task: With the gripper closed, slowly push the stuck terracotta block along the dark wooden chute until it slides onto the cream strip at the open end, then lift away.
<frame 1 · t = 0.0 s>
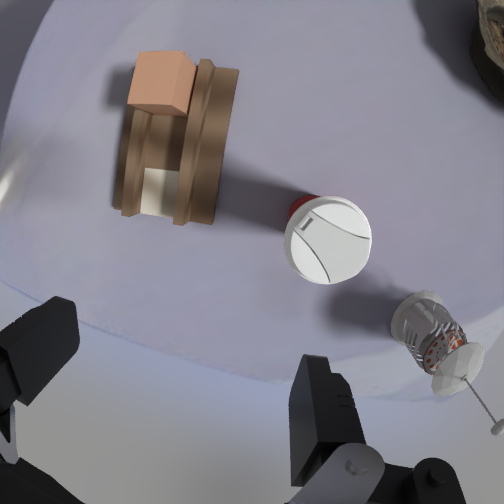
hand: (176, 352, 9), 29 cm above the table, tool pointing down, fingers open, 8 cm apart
paper cup: (310, 217, 37), on the table
jammed block: (167, 85, 29), point 5 cm above the table, slide at 0.0 cm
french press: (416, 314, 40), on the table
chute: (172, 139, 35), on the table
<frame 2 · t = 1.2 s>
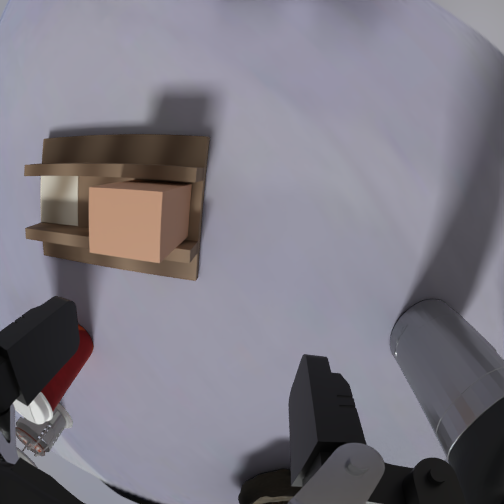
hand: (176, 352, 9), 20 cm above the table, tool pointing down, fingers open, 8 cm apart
paper cup: (77, 338, 34), on the table
jammed block: (143, 214, 23), point 5 cm above the table, slide at 0.0 cm
french press: (54, 409, 40), on the table
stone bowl: (291, 487, 42), on the table
chute: (111, 201, 28), on the table
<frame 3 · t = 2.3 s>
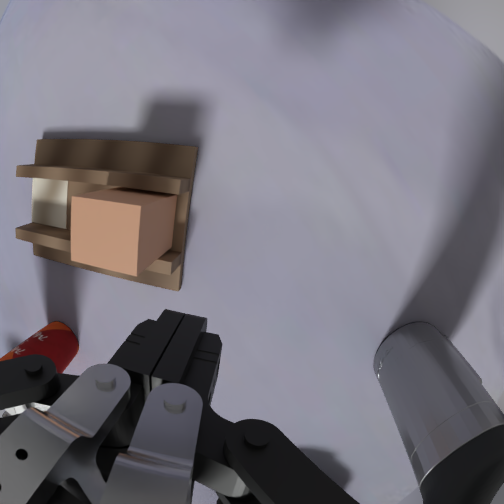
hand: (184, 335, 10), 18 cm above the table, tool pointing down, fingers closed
paper cup: (64, 338, 34), on the table
jammed block: (126, 224, 23), point 5 cm above the table, slide at 0.0 cm
chute: (99, 206, 28), on the table
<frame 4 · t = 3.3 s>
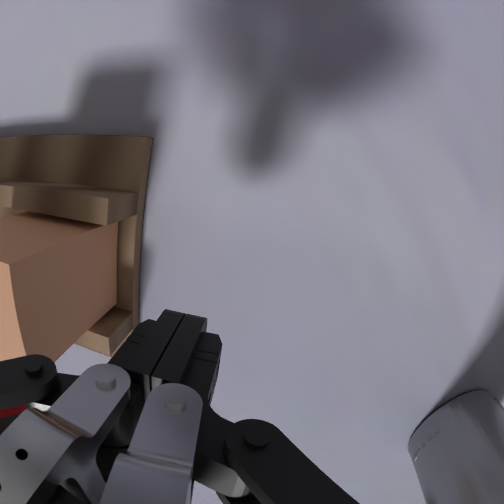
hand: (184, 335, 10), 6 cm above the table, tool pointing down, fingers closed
paper cup: (17, 388, 22), on the table
jammed block: (33, 275, 12), point 5 cm above the table, slide at 0.0 cm
chute: (26, 234, 17), on the table
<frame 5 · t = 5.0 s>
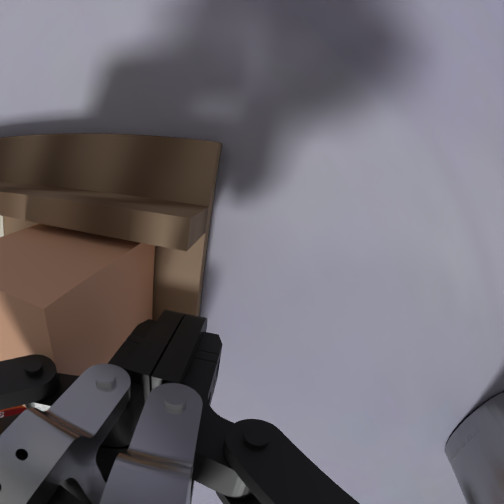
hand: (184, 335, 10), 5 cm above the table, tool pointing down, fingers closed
jammed block: (58, 302, 10), point 5 cm above the table, slide at 1.3 cm, touching gripper
chute: (51, 250, 15), on the table
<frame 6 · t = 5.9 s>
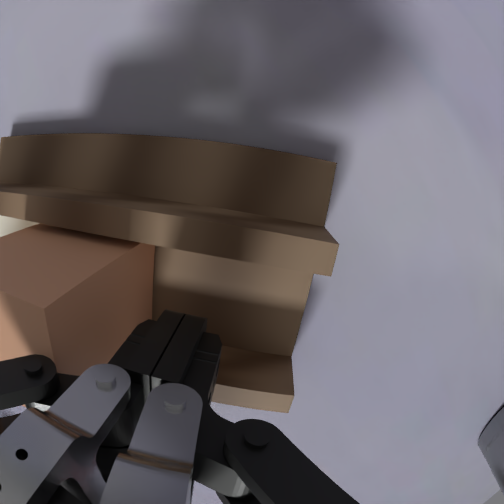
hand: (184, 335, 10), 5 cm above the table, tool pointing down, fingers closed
jammed block: (57, 302, 10), point 5 cm above the table, slide at 6.5 cm, touching gripper
chute: (119, 266, 15), on the table
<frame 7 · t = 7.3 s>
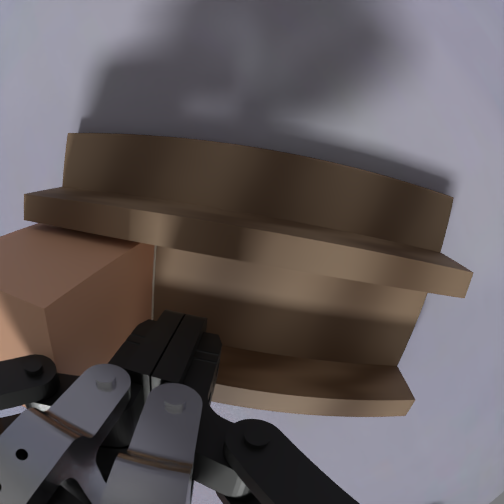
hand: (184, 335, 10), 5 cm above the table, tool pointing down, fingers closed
jammed block: (57, 302, 10), point 5 cm above the table, slide at 13.0 cm, touching gripper
chute: (235, 289, 15), on the table
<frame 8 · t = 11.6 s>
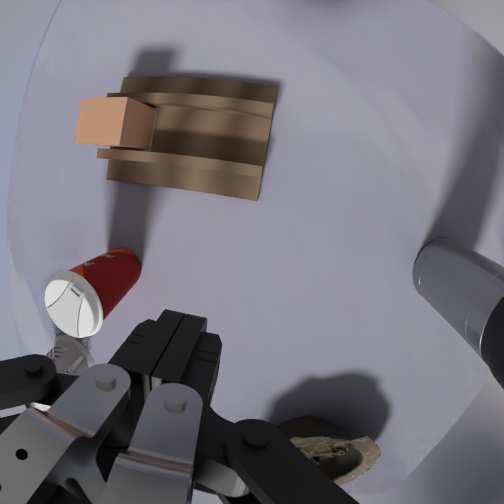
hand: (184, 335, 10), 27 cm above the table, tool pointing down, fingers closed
paper cup: (124, 266, 39), on the table
jammed block: (117, 124, 29), point 5 cm above the table, slide at 13.0 cm
french press: (76, 355, 45), on the table
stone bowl: (311, 443, 47), on the table
chute: (186, 132, 34), on the table
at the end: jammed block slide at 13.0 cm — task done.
